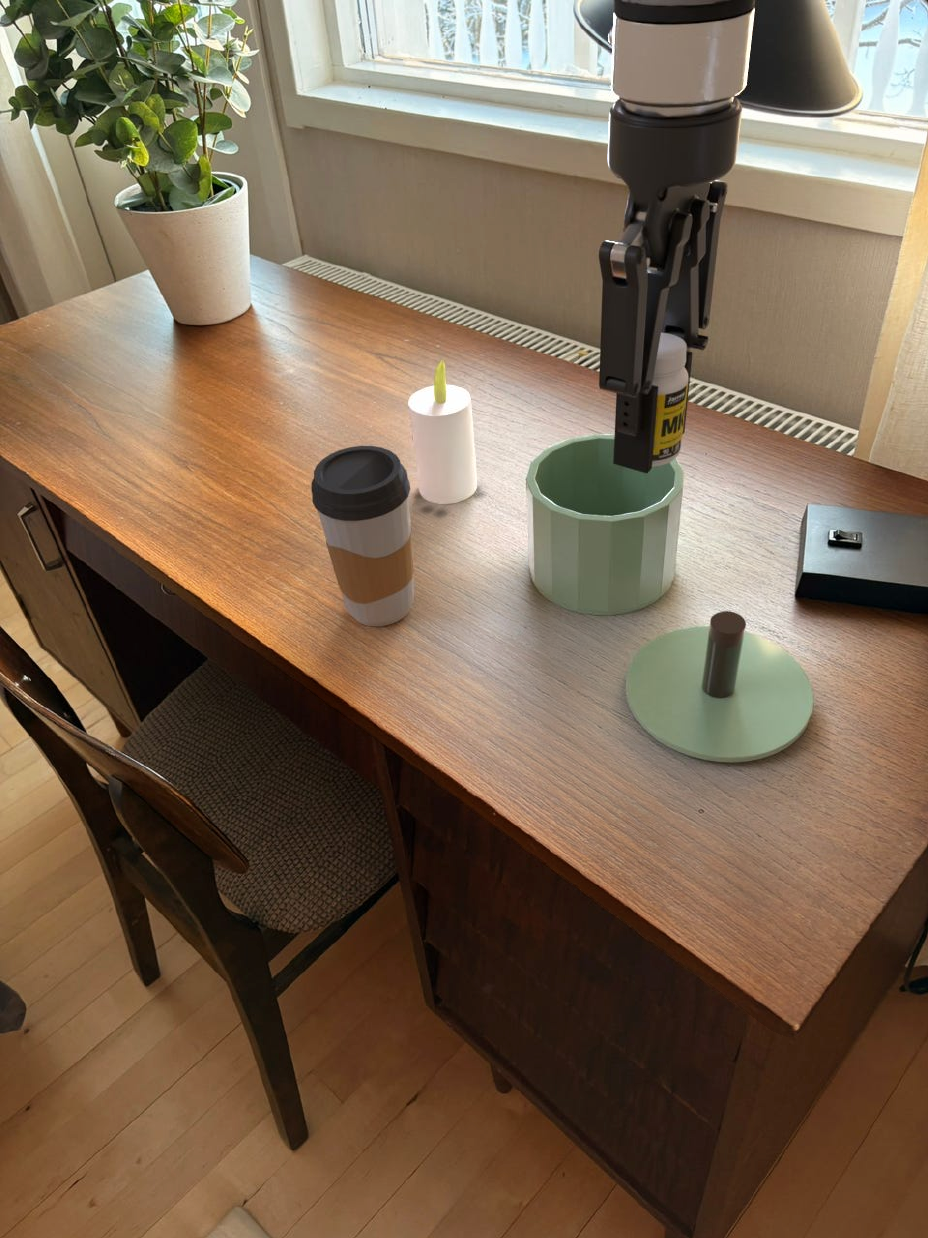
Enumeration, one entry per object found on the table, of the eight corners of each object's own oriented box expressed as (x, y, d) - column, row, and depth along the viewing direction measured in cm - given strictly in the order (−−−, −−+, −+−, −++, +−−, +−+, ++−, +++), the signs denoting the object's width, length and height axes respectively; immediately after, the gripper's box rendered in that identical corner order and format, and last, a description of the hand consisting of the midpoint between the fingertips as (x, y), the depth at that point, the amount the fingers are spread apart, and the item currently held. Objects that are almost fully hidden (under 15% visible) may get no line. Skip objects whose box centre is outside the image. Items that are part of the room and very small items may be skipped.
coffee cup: (442, 591, 89) (426, 454, 79) (393, 646, 84) (369, 507, 74) (369, 568, 92) (345, 434, 82) (318, 619, 87) (286, 483, 77)
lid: (837, 674, 77) (857, 599, 72) (769, 797, 69) (787, 722, 63) (673, 615, 84) (680, 541, 79) (592, 719, 76) (595, 645, 70)
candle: (435, 465, 105) (421, 339, 95) (487, 478, 102) (478, 349, 92) (406, 495, 101) (389, 367, 91) (459, 509, 98) (447, 378, 88)
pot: (698, 551, 90) (709, 457, 83) (632, 634, 83) (638, 538, 76) (575, 511, 97) (575, 421, 90) (502, 584, 89) (497, 492, 82)
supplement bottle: (665, 474, 67) (676, 366, 62) (605, 459, 69) (610, 353, 64) (690, 442, 70) (702, 336, 65) (631, 427, 72) (638, 324, 67)
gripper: (681, 56, 61) (656, 383, 77) (539, 134, 50) (543, 494, 66) (795, 65, 57) (745, 405, 73) (668, 150, 47) (641, 526, 63)
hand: (649, 447), depth 70 cm, fingers closed on supplement bottle, 5 cm apart
